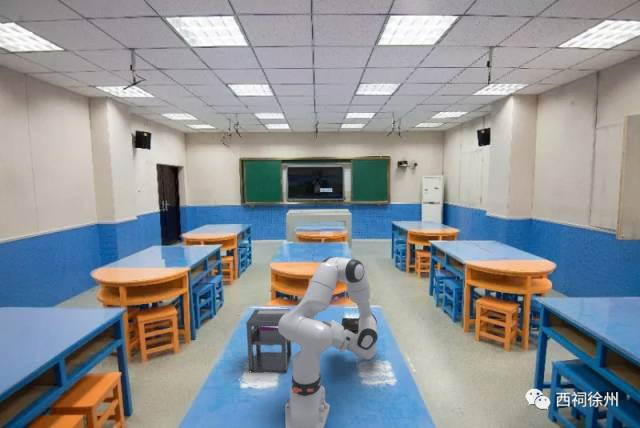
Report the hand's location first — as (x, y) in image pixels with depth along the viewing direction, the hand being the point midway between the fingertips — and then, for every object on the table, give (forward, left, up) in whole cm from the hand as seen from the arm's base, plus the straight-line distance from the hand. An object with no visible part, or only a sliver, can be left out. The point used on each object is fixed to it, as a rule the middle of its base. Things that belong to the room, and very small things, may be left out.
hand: (321, 325), depth 159 cm
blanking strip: (0, +21, +5) cm, 21 cm away
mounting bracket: (+28, +33, -21) cm, 48 cm away
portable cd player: (+39, -18, -21) cm, 48 cm away
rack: (0, +27, -21) cm, 34 cm away
